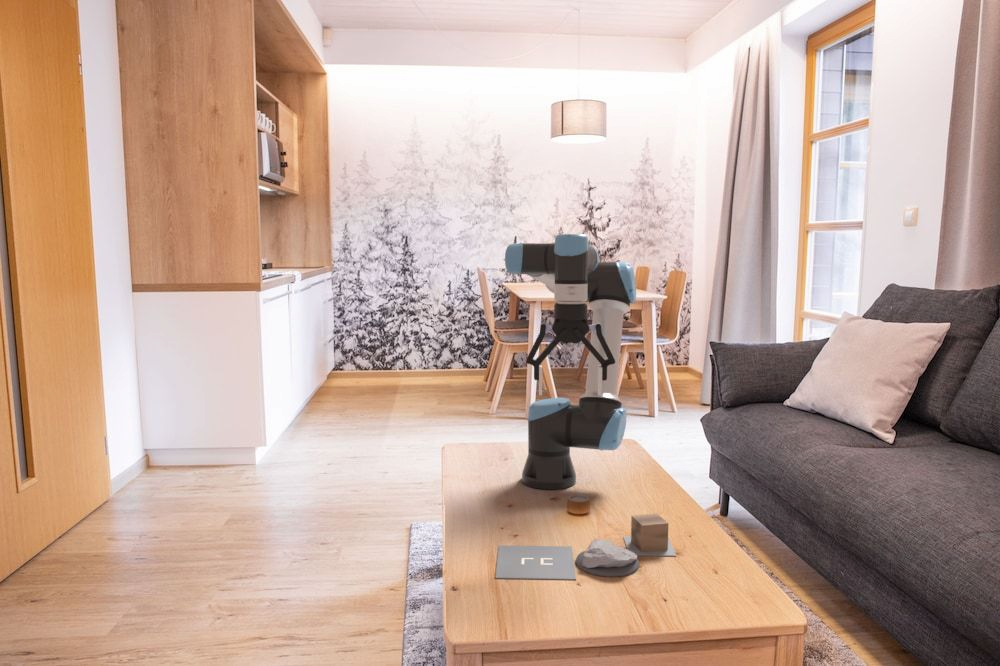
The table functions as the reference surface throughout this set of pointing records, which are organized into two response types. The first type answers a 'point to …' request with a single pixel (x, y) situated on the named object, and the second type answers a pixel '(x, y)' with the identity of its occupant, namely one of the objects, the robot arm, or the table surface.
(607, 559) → the stone
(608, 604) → the table surface
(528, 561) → the tile
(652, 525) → the walnut block
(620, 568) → the coaster
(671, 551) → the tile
